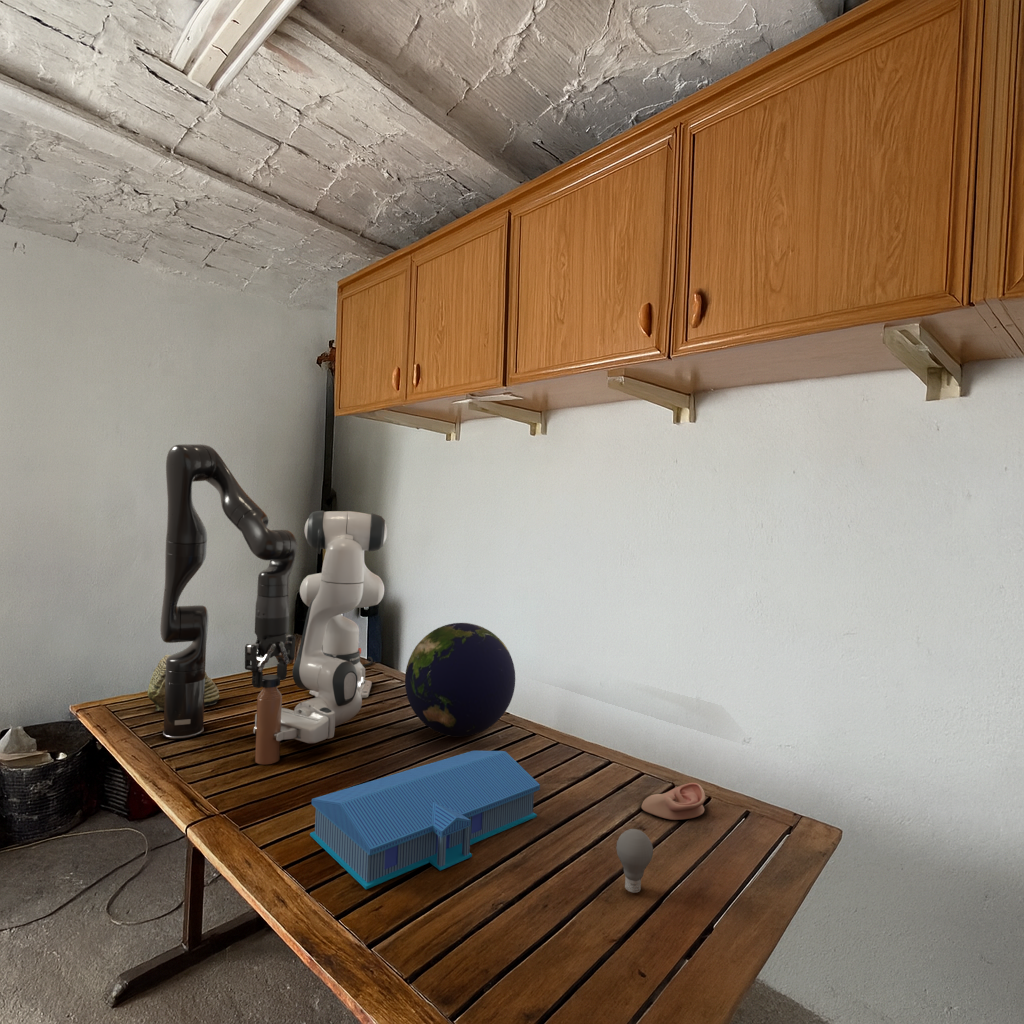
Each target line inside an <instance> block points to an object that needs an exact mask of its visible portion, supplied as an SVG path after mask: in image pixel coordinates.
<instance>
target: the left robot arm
mask: <svg viewBox="0 0 1024 1024" xmlns="http://www.w3.org/2000/svg"><path fill="white" fill-rule="evenodd" d="M165 478H166V479H165V480H166V493H167V519H166V521H167V522H166V537H165V561H164V562H165V565H164V566H165V567H164V568H165V569H164V570H165V571H164V588H163V596H162V597H163V598H162V607H161V616H160V626H159V628H160V630H159V631H160V638H161V640H162V641H163V642H164V643H167V644H173V643H175V644H176V643H177V644H178V643H189V642H191V643H190V645H188V646H187V647H186V648H184V649H183V650H180V651H179V652H178V651H177V652H175V653H173V654H170V655H171V656H169V657H168V658H167V660H166V674H165V705H164V710H163V731H162V737H164V738H166V739H169V740H185V739H190V738H191V739H192V738H194V737H197V736H199V735H202V734H203V732H204V730H205V729H204V722H205V721H204V718H205V706H204V693H205V672H206V664H207V663H206V658H207V657H206V656H207V640H208V631H209V630H208V629H209V611H208V609H207V607H206V606H205V605H199V604H198V605H197V604H195V605H178V603H179V600H180V597H181V596H182V593H183V591H184V589H185V588H186V587H187V585H188V583H189V582H190V581H191V580H192V578H193V577H194V576H195V575H196V574H197V572H198V571H199V570H200V568H201V567H202V565H203V564H204V563H205V561H206V559H207V548H208V546H207V545H208V533H207V532H208V531H207V529H206V526H205V525H204V522H203V521H202V519H201V517H200V515H199V514H198V511H197V510H196V508H195V506H194V503H193V482H207V483H209V484H210V485H211V486H213V487H214V488H215V490H217V493H218V494H219V499H220V504H221V508H222V511H223V513H224V515H225V516H226V518H227V519H228V521H230V522H231V524H233V525H234V526H235V527H236V529H238V531H240V532H241V534H242V535H243V536H242V537H243V539H244V541H245V543H246V544H247V546H248V548H249V550H250V551H251V553H252V554H253V555H254V556H255V557H257V558H258V559H260V560H262V561H269V564H268V565H267V567H266V568H265V569H264V570H261V571H260V572H259V573H258V576H257V585H256V586H257V587H256V588H257V589H256V590H257V591H256V601H255V607H254V609H255V613H254V614H255V615H254V634H255V636H256V641H255V643H252V644H249V643H246V644H244V645H245V646H244V670H247V671H250V672H251V685H252V687H253V688H256V689H260V688H263V687H262V680H263V676H264V675H263V674H264V672H263V671H264V668H265V665H266V664H267V663H268V662H269V661H270V659H271V658H273V657H274V658H275V659H276V661H277V664H276V665H277V666H276V675H279V676H280V681H285V680H286V679H287V674H288V664H289V662H290V661H293V660H295V655H296V653H295V652H296V637H297V636H296V635H293V634H289V625H290V598H289V597H290V595H289V594H290V576H291V573H292V571H293V567H294V563H295V560H296V557H297V553H298V542H297V539H296V536H295V535H294V533H293V532H291V531H290V530H288V529H269V527H268V526H269V524H270V523H269V521H270V519H269V516H268V515H267V514H266V513H265V511H264V510H263V509H262V508H261V507H260V506H259V505H258V504H257V503H256V502H255V501H254V500H253V499H252V498H251V497H250V496H249V495H248V494H247V493H246V492H245V490H244V489H243V488H242V486H241V485H240V484H239V482H238V481H237V479H236V478H235V476H234V474H233V473H232V472H231V470H230V469H229V467H228V466H227V464H226V463H225V461H224V460H223V459H222V457H221V456H220V454H219V453H218V452H217V451H216V450H215V449H214V448H213V447H212V446H210V445H207V444H194V443H193V444H186V443H185V444H183V443H181V444H175V445H173V446H172V447H170V449H169V450H168V452H167V455H166V460H165Z"/></svg>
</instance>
